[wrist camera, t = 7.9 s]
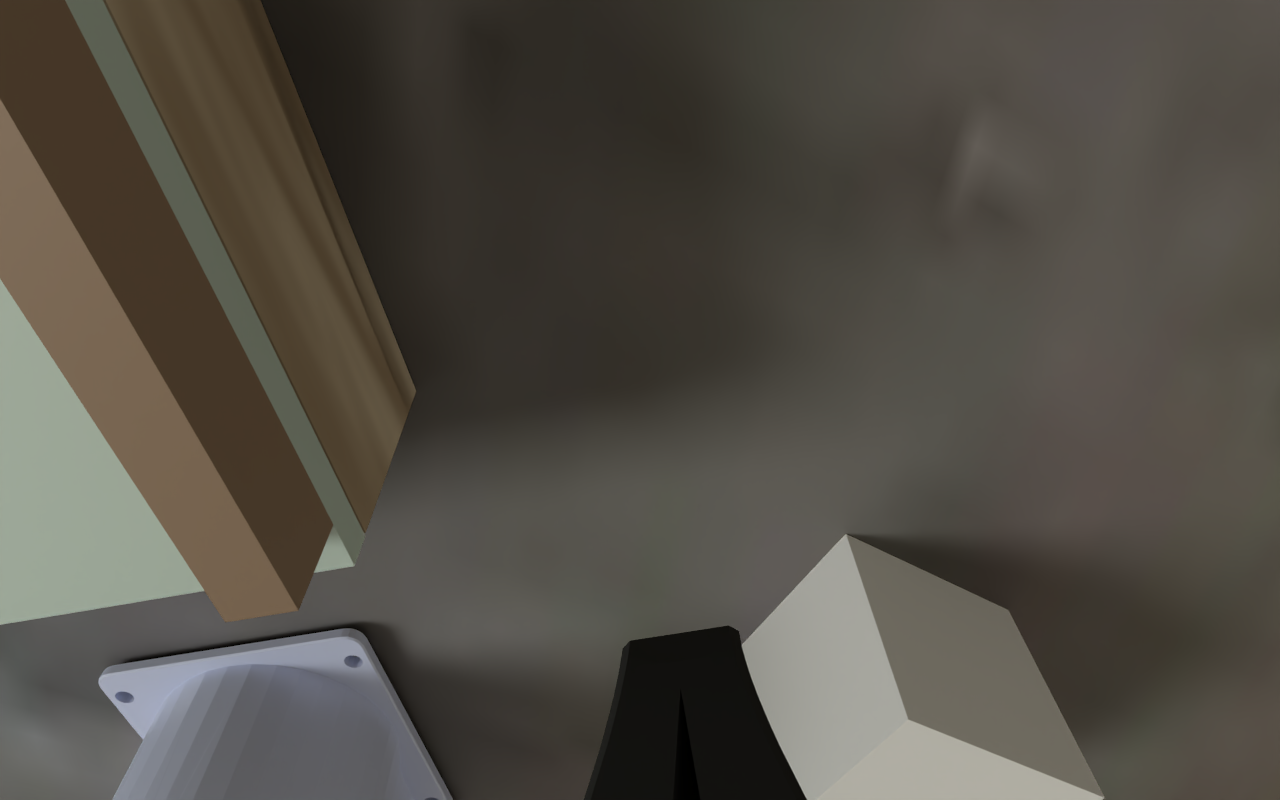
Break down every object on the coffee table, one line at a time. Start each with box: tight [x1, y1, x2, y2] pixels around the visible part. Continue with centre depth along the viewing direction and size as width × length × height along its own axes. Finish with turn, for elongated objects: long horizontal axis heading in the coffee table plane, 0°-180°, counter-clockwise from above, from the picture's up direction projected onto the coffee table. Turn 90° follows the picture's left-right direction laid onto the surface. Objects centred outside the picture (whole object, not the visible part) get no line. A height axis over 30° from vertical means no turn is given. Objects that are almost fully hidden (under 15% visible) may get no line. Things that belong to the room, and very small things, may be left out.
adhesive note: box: [742, 534, 1105, 800], centre depth 23 cm, size 6×6×6 cm
